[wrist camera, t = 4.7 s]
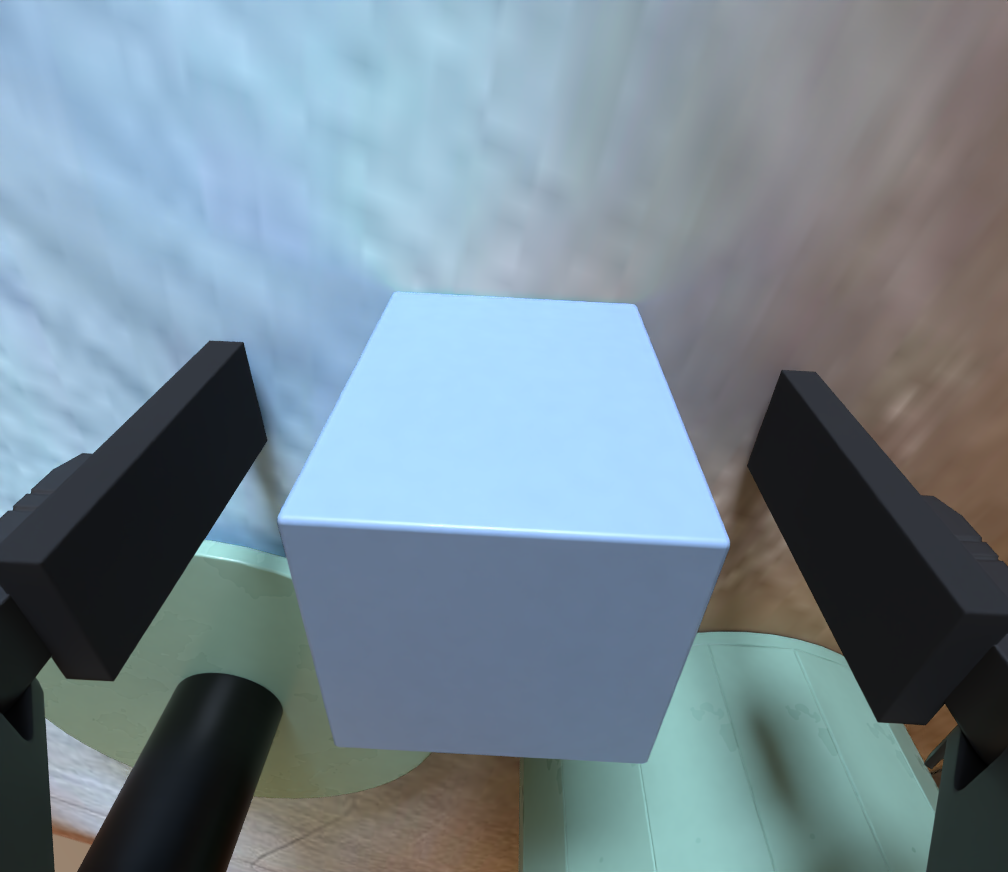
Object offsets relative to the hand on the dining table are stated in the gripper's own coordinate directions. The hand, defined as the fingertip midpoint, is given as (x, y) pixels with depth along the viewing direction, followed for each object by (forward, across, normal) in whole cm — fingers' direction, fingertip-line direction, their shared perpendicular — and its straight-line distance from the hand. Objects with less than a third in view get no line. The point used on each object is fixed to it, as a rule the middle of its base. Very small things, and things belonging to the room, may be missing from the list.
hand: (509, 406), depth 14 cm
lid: (0, -9, -12) cm, 15 cm away
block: (0, 0, 0) cm, 0 cm away
